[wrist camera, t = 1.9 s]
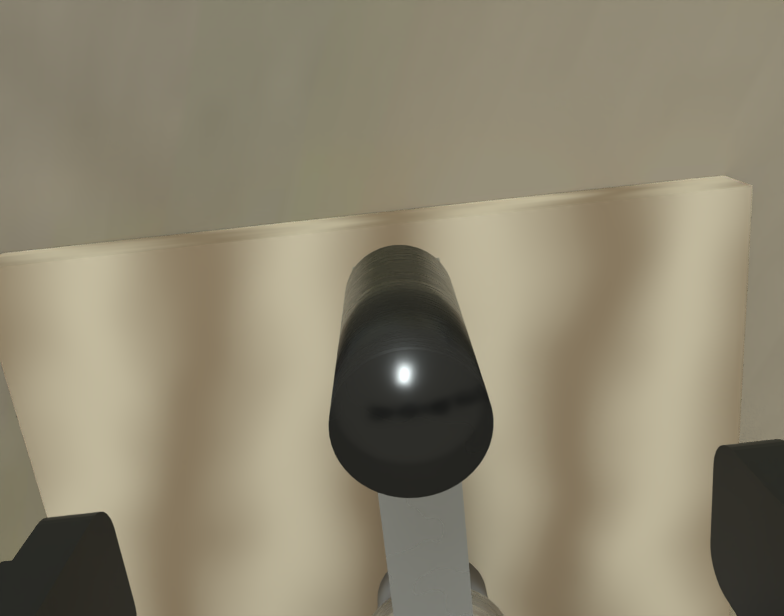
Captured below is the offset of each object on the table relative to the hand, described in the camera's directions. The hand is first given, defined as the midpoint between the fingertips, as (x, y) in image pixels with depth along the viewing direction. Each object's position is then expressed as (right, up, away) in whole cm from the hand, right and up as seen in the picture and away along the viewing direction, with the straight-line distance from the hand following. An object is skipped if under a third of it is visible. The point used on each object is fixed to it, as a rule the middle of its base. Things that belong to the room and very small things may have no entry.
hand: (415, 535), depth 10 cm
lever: (+1, -4, +15) cm, 15 cm away
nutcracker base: (0, -5, +19) cm, 19 cm away
